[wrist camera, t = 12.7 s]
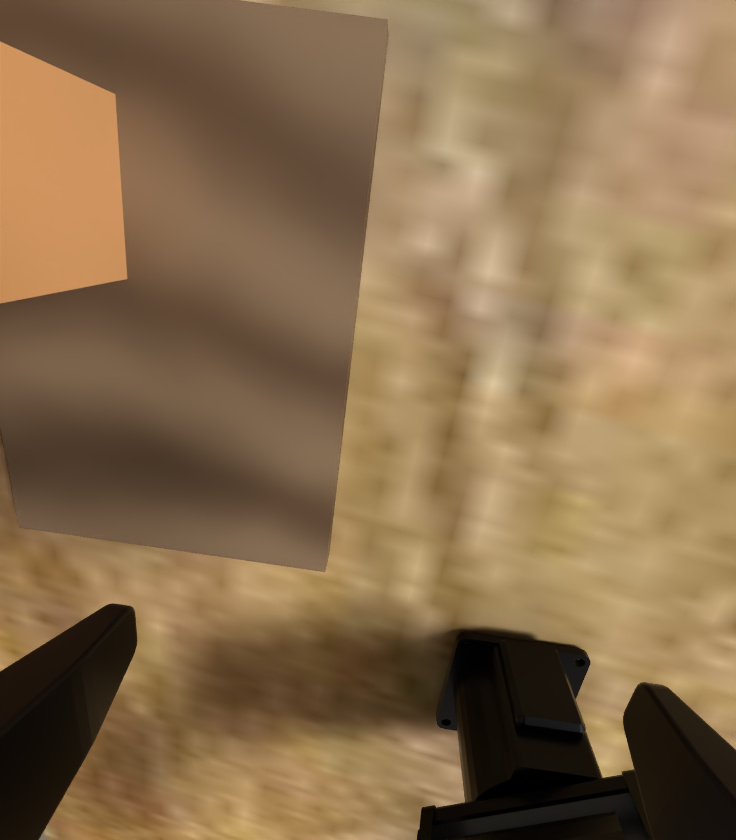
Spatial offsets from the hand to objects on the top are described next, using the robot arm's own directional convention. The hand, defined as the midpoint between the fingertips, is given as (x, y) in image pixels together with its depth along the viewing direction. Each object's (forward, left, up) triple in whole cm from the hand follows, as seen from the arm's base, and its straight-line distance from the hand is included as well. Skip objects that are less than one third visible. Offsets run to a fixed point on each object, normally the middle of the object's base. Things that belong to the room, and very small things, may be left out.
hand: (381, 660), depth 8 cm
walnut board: (+2, +9, -12) cm, 15 cm away
